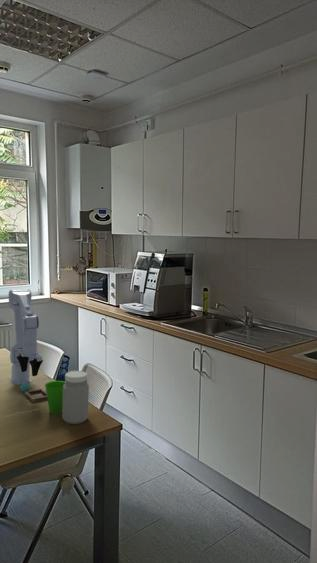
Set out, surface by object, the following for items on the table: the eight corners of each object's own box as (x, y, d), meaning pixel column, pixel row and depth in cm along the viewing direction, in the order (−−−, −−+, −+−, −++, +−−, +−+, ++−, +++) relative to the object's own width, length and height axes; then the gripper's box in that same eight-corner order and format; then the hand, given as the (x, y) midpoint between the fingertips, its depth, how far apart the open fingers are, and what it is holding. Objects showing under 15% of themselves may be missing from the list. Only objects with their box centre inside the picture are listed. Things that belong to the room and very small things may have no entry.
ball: (18, 391, 183) (19, 382, 183) (27, 389, 185) (27, 380, 185) (22, 394, 180) (22, 385, 179) (31, 392, 182) (31, 383, 182)
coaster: (17, 391, 183) (17, 391, 183) (28, 389, 186) (28, 388, 186) (21, 395, 179) (21, 394, 179) (32, 393, 182) (32, 392, 182)
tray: (24, 395, 179) (24, 391, 179) (42, 392, 184) (42, 388, 184) (32, 403, 171) (32, 399, 171) (51, 399, 176) (51, 395, 176)
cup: (70, 407, 169) (71, 381, 168) (63, 416, 160) (63, 389, 159) (49, 405, 170) (49, 379, 169) (40, 414, 161) (41, 387, 160)
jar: (60, 415, 161) (61, 370, 159) (85, 413, 164) (86, 369, 162) (64, 426, 152) (65, 379, 150) (90, 423, 155) (91, 377, 153)
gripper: (11, 341, 180) (11, 371, 181) (32, 348, 171) (31, 379, 172) (25, 338, 185) (25, 368, 187) (46, 345, 177) (45, 375, 178)
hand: (29, 373), depth 180 cm, fingers open, 7 cm apart
